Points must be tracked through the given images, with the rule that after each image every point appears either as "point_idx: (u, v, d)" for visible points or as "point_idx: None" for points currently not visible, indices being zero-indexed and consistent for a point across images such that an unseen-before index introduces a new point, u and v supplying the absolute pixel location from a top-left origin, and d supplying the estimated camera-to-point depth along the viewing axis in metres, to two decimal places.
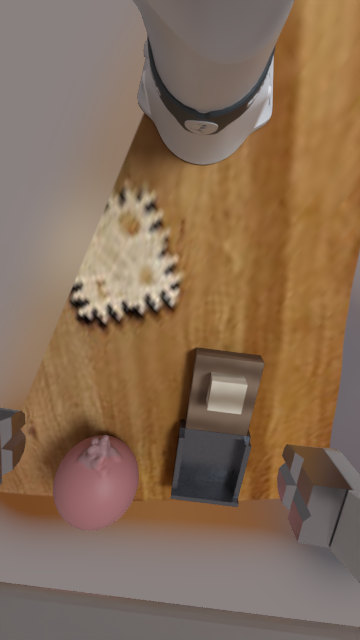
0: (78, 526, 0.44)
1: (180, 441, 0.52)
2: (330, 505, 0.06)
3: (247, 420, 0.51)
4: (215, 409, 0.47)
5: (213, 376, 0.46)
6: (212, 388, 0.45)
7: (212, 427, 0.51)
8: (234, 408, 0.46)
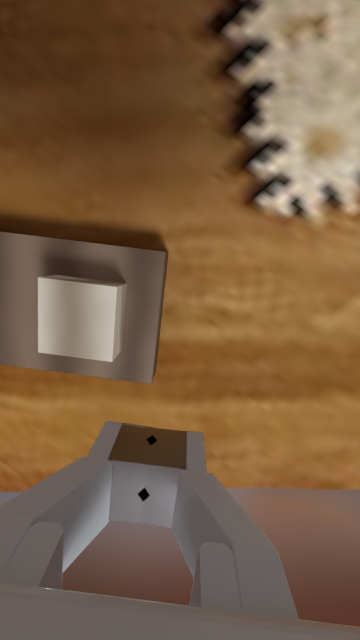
0: None
1: None
2: (167, 485, 0.06)
3: (20, 361, 0.25)
4: (42, 296, 0.20)
5: (121, 288, 0.21)
6: (96, 287, 0.20)
7: None
8: (51, 338, 0.21)
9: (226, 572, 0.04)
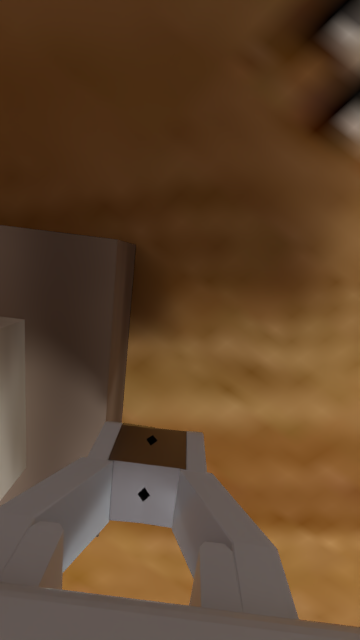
0: None
1: None
2: (167, 485, 0.06)
3: None
4: None
5: None
6: None
7: None
8: None
9: (226, 572, 0.04)
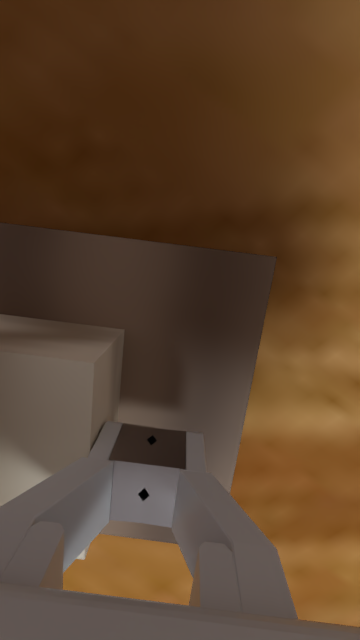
0: None
1: None
2: (166, 485, 0.06)
3: None
4: None
5: (111, 353, 0.08)
6: (30, 365, 0.06)
7: None
8: None
9: (225, 572, 0.04)
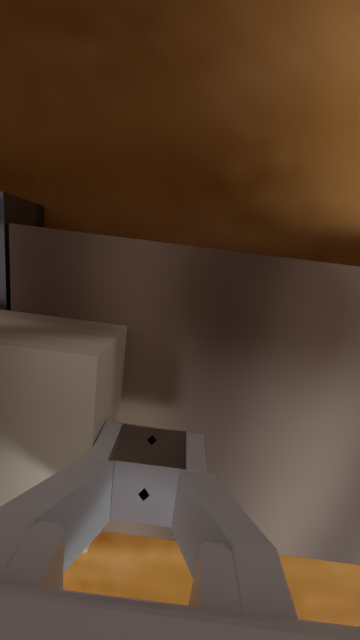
0: None
1: None
2: (166, 485, 0.06)
3: None
4: None
5: (113, 348, 0.08)
6: (34, 358, 0.06)
7: None
8: None
9: (225, 572, 0.04)
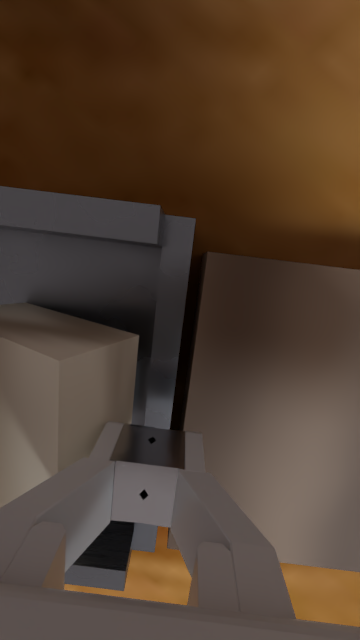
0: None
1: (125, 213, 0.07)
2: (165, 485, 0.06)
3: None
4: None
5: (103, 356, 0.07)
6: (19, 353, 0.07)
7: (214, 402, 0.09)
8: None
9: (223, 572, 0.04)
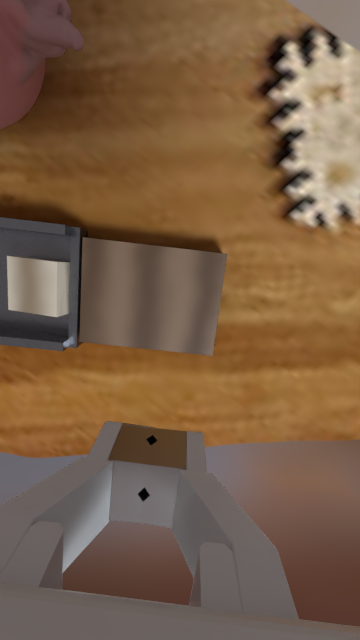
0: None
1: (56, 226, 0.28)
2: (167, 485, 0.06)
3: (109, 340, 0.32)
4: (10, 269, 0.29)
5: (65, 264, 0.29)
6: (44, 262, 0.28)
7: (89, 285, 0.30)
8: (16, 299, 0.30)
9: (226, 572, 0.04)
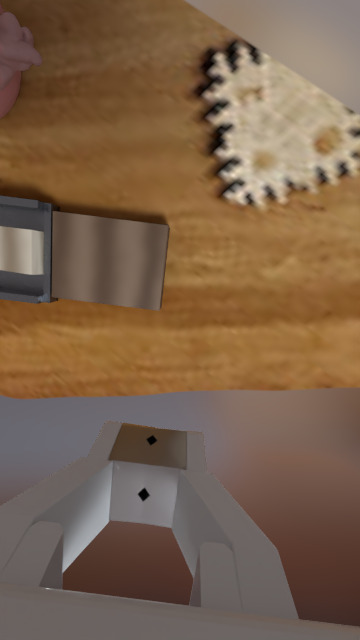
0: None
1: (31, 202, 0.35)
2: (167, 485, 0.06)
3: (75, 296, 0.39)
4: None
5: (39, 233, 0.37)
6: (21, 230, 0.36)
7: (59, 250, 0.38)
8: (1, 260, 0.37)
9: (226, 572, 0.04)
